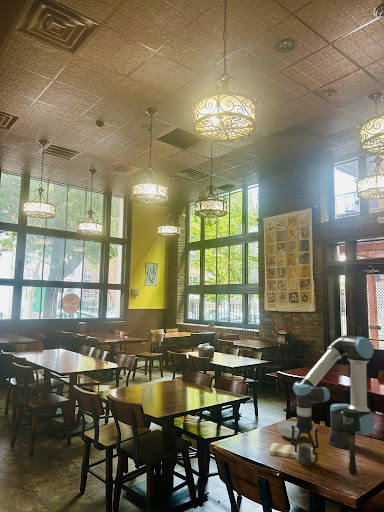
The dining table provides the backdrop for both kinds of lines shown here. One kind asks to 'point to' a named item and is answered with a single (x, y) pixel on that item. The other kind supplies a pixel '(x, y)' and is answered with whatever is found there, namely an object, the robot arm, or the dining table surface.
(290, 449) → the maple board
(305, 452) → the marking gauge
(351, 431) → the stick grenade
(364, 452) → the dining table surface
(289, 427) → the cereal bowl
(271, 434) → the dining table surface
